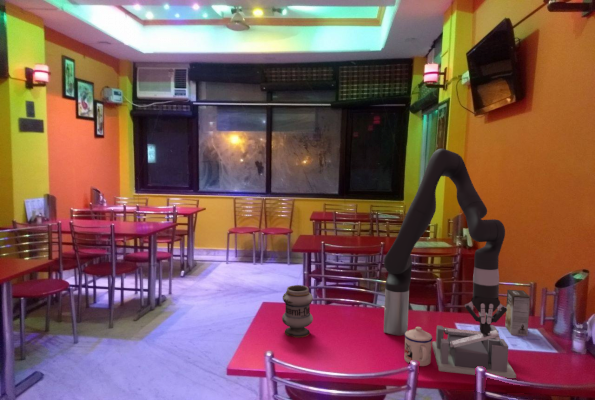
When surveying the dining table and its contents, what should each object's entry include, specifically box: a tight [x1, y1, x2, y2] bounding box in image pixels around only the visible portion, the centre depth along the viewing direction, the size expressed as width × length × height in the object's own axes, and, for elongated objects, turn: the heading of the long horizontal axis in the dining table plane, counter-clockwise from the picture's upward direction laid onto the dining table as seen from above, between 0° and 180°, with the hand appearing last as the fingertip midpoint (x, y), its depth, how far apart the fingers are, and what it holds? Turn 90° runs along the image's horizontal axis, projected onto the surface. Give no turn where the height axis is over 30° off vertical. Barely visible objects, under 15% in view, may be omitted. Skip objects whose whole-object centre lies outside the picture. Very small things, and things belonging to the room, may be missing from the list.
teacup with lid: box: [404, 326, 433, 367], centre depth 141 cm, size 12×9×12 cm
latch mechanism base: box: [431, 324, 517, 379], centre depth 143 cm, size 23×20×10 cm
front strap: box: [448, 330, 501, 349], centre depth 137 cm, size 16×3×2 cm, turn 78°
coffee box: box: [504, 289, 531, 337], centre depth 170 cm, size 9×6×16 cm
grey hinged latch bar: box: [443, 326, 482, 336], centre depth 149 cm, size 16×3×2 cm, turn 78°
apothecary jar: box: [281, 284, 314, 338], centre depth 165 cm, size 12×12×18 cm
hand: (484, 334), depth 136 cm, fingers closed
